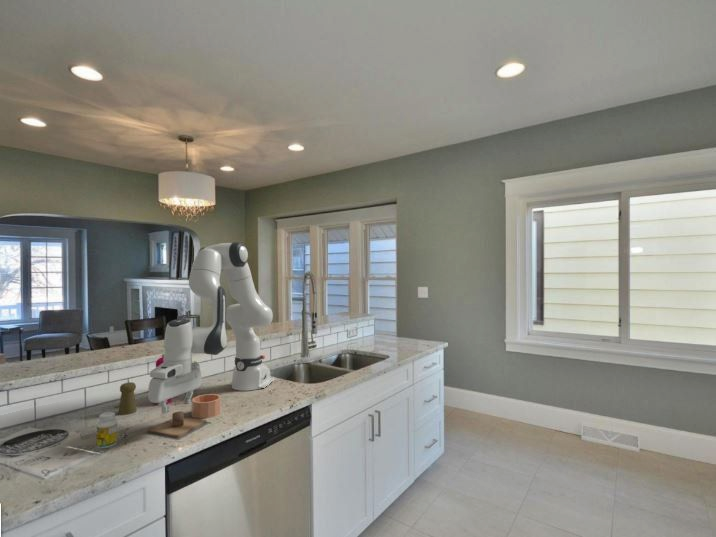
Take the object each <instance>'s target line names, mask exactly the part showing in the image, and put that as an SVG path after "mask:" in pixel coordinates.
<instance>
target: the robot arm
mask: <svg viewBox="0 0 716 537" xmlns="http://www.w3.org/2000/svg"><path fill="white" fill-rule="evenodd" d="M194 258H195V259H194V260H193V263H192V266H191V270H190V273H189V277H188V287H189V289H190V291H192V293H194V295H196V296H198V297H200V298H202V299H203V300H207V301H209V302H211V304H212V324H211V325H210V326H195V325H192V321H191V320H190V319H188V318H177V319H172V320H170V321H169V322H168V323H166V327H165V332H164V339H163V348H164V354H165V356H164V362H163V363H162V364H160V365H159V366H158V367H156V366H155V368H153V369H151V370H150V372H149V377H150V378H151V379H150V380H149V382H148V383H149V384H148V395H147V396H148V397H147V398H148V401H149V402H151V403H153V404H155V403H159V407H160V409H161V413H162V414H167V413H170V406H168V403H167V399H170V398H174V397H178V396H181V395H183V394H185V397H184V398H183V400H182V401H183V405H189V404H191V400H192V398H193V394H194V390H196V389H199V388H201V386H202V382H203V381H202V372H201V365H200V363H198V362H195V361H194V362H193V356H192V354H203V355H204V354H206V355H212V356H217V355H219V354H220V353H221V352H223V351H224V350H225V349H226V347H227V343H228V333H227V323H228V325H229V326H230V327H231V330H232V332H233V335H234V339H235V356H234V365H235V366H234V367H233V371H232V378H231V379H232V380H231V382H230V384H229V385H230V386H231V385H232V386H231V389H232V388H233V390H236V391H240V392H241V391H243V392H244V391H255V390H261V388H264V389H266V388H267V387H268V386H270V385H271V384H272V383H273V382H275V381H276V378H275V377H273V376H271V370H270V367H268V366H267V365H266V364H264V363H263V360H266V355H265V354H261V339H260V337H259V336H258V335H257V334H256V332H255V331H254V329H262V328H267V327H269V326H270V325H271V323H272V321H273V319H274V318H273V317H274V314H273V313H274V312H273V311H272V308H270V307H269V306H268V305H267V304H266V303H264V301H263V300H262V299H261V297H260V296H259V294H258V291H257V290H256V288H255V287H256V286H255V283H254V281H253V277H252V272H251V269H250V266H249V263H248V259H249V251H248V248H247V247H246V245H245V244H243V243H242V242H238V241H237V242H235V241H234V242H224V243H223V242H221V243H216V244H212V245H206V246H203V247H200V249H199V250H198V252H197V254H196V256H195V257H194ZM222 270H224V272H225V277H226V282H227V283H226V284H227V286H228V289H229V294H230V297H232V299H234V300H235V301H236V302H237V303H234V304H230V305H229V306H227V294H226V291H225V288H224V287H223V286H221V282H220V280H221V279H220V278H221V273H222ZM274 380H275V381H274ZM272 381H273V382H272ZM271 382H272V383H271ZM270 383H271V384H270ZM269 384H270V385H269ZM267 385H268V386H267ZM266 386H267V387H266ZM265 387H266V388H265ZM166 403H167V404H166Z"/></svg>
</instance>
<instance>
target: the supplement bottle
mask: <svg viewBox="0 0 716 537" xmlns="http://www.w3.org/2000/svg"><path fill="white" fill-rule="evenodd" d="M98 417H99V418H98V419H99V421H98V422H97V424H96V439H95V440H96V443H95V444H96V448H97V449H107V448H111V447H113V446H115V445H117V443H118V427H119V426H118V419H116V412H115V411H114V412H113V411H106V412H103V413H101V414H99V416H98Z"/></svg>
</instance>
